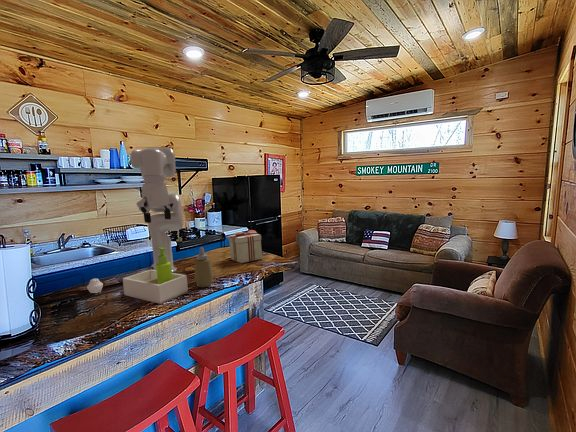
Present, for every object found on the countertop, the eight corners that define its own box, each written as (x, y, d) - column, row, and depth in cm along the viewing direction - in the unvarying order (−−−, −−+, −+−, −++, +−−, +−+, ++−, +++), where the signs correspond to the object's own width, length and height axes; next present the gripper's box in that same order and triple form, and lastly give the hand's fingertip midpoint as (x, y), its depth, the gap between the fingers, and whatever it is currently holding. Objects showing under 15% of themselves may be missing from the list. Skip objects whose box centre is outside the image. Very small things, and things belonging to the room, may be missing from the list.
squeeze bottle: (195, 289, 136) (191, 250, 133) (195, 283, 143) (192, 246, 141) (213, 287, 138) (210, 248, 135) (213, 281, 145) (210, 244, 143)
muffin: (106, 292, 138) (104, 277, 137) (92, 296, 133) (90, 281, 132) (99, 290, 141) (97, 275, 140) (85, 294, 136) (83, 279, 135)
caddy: (124, 295, 133) (122, 278, 132) (152, 284, 145) (151, 269, 144) (160, 303, 121) (158, 285, 120) (188, 291, 133) (186, 275, 132)
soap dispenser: (168, 289, 135) (163, 245, 133) (176, 292, 130) (171, 247, 128) (155, 293, 130) (150, 248, 128) (163, 297, 126) (158, 249, 124)
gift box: (248, 254, 198) (246, 227, 196) (264, 258, 183) (262, 230, 181) (224, 259, 187) (222, 231, 185) (239, 264, 173) (237, 235, 171)
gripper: (165, 179, 135) (169, 217, 137) (128, 180, 120) (133, 223, 122) (177, 179, 131) (180, 218, 133) (140, 180, 116) (145, 224, 118)
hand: (158, 220), depth 128 cm, fingers open, 9 cm apart
